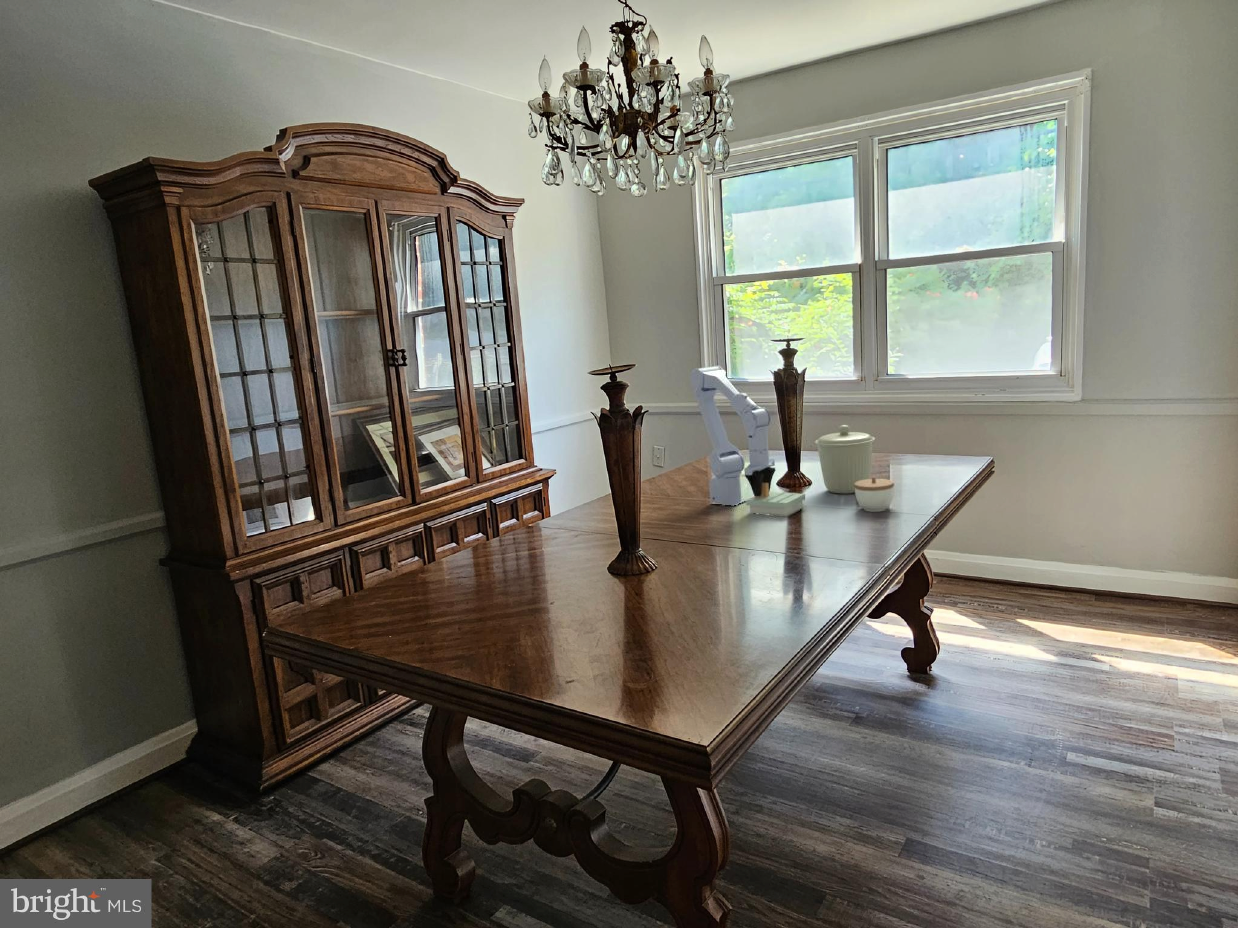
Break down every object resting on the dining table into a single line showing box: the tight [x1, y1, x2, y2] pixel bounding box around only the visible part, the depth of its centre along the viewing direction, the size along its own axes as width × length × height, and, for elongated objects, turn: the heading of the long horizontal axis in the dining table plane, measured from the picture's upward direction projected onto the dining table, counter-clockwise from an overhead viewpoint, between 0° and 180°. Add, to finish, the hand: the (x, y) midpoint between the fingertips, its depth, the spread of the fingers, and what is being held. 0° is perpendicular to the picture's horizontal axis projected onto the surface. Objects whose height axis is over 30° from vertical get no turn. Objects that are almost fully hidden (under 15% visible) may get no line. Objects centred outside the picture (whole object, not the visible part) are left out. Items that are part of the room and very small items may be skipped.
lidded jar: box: [854, 476, 895, 513], centre depth 217 cm, size 11×11×9 cm
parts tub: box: [749, 501, 804, 518], centre depth 226 cm, size 12×10×4 cm
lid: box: [745, 483, 806, 508], centre depth 226 cm, size 13×11×6 cm
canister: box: [814, 424, 876, 495], centre depth 242 cm, size 18×18×21 cm
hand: (761, 493), depth 229 cm, fingers open, 4 cm apart
